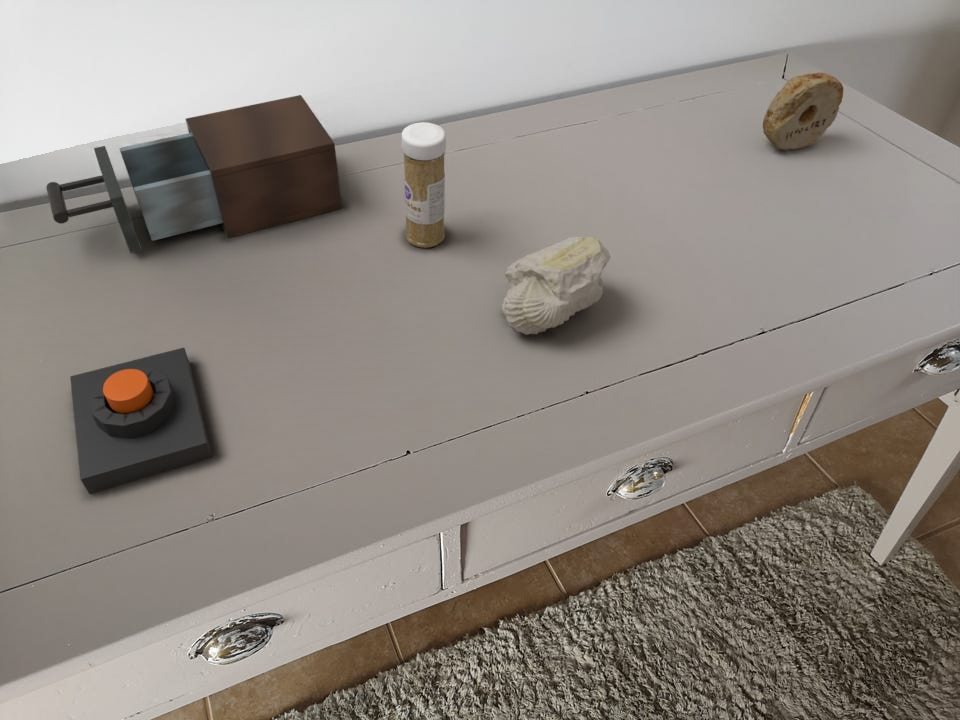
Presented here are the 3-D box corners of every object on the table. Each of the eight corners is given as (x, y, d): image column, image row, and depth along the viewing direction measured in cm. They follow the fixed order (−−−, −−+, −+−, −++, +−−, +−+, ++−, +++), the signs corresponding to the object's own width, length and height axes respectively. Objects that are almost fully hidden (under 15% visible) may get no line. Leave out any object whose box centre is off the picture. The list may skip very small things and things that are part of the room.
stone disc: (811, 131, 108) (838, 62, 101) (829, 144, 106) (857, 75, 98) (749, 143, 105) (772, 73, 98) (765, 158, 103) (790, 87, 96)
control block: (78, 391, 72) (62, 362, 69) (189, 363, 75) (179, 333, 72) (89, 494, 64) (72, 466, 61) (212, 458, 67) (202, 429, 64)
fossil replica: (480, 332, 79) (572, 368, 77) (487, 276, 72) (588, 314, 71) (523, 256, 86) (608, 288, 84) (533, 199, 79) (626, 232, 78)
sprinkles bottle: (397, 235, 89) (391, 130, 79) (427, 220, 91) (426, 115, 81) (423, 255, 87) (420, 149, 77) (453, 238, 89) (455, 133, 79)
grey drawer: (73, 267, 82) (48, 213, 77) (59, 213, 88) (36, 160, 83) (244, 223, 88) (232, 170, 83) (221, 175, 94) (208, 123, 89)
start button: (107, 388, 67) (100, 375, 66) (150, 377, 68) (144, 363, 67) (111, 418, 65) (104, 405, 64) (156, 406, 66) (150, 393, 65)
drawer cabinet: (227, 238, 88) (210, 171, 81) (202, 184, 94) (185, 118, 88) (342, 208, 92) (334, 142, 86) (310, 158, 99) (300, 94, 93)
